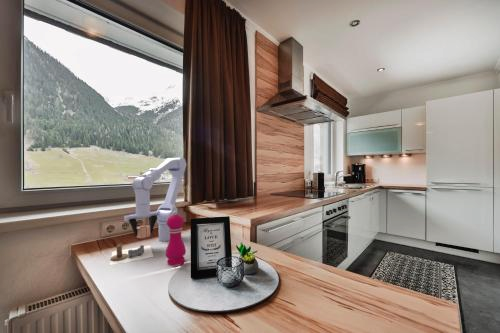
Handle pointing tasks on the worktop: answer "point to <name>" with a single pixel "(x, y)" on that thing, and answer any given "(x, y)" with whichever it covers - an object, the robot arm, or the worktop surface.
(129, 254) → the grey mechanical part
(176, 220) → the pepper mill
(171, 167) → the robot arm
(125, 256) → the peg
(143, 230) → the ring
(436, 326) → the worktop surface
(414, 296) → the worktop surface
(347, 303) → the worktop surface
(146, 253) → the board
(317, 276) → the worktop surface
